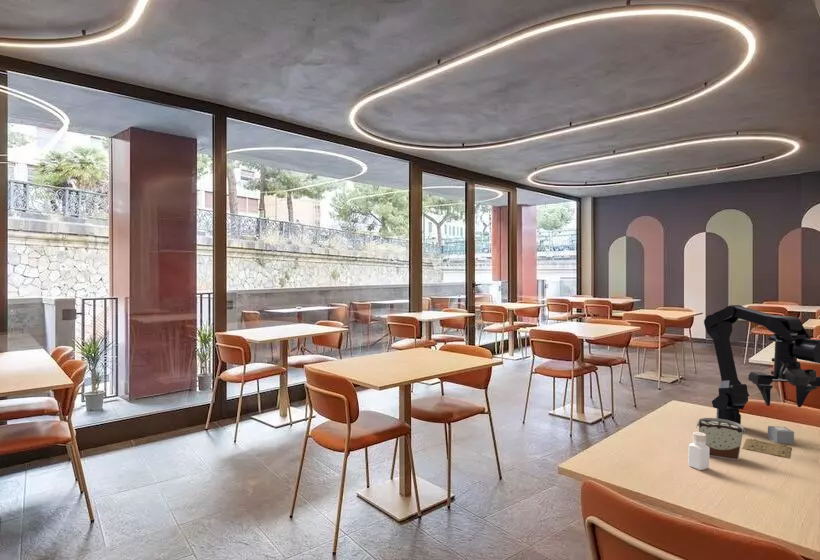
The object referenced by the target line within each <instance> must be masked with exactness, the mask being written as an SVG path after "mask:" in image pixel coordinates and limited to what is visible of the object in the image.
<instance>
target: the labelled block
mask: <svg viewBox="0 0 820 560" xmlns="http://www.w3.org/2000/svg"><path fill="white" fill-rule="evenodd" d="M769 438H770V440H771V441H772V440H773V441H772V442H773V443H775V444H786V443H791V444H792V445H794V443H795V442H794V439H795V431H794V430H791V429H789V428H787V427H786V426H779V425H778V426H776V425H775V426H774V425H773V426H772V425H768V426H767V439H769ZM791 444H790V445H791Z"/></svg>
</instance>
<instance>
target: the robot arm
mask: <svg viewBox="0 0 820 560" xmlns="http://www.w3.org/2000/svg"><path fill="white" fill-rule="evenodd" d="M739 320H743V321H746V322H750V323H753V324H755V325H756V324H757V325H759V326H762V327H765V329H767V330H768V331H769V332H771V333H773V335H771V336H770V337H768V338H767V339H768V341H773V342H774V357H773V358H772V357H771V362H773V370H771V371H770V374H768V373H765V372H762V371H761V372H760V371H750V373H749V374H748V378H747V379H748V381H750V382H752V384H754V385H756V386H757V388H758V390H759V392H760V394H761V396H762V399H763V401H764V403H765V405H766V406H767V407H770V406H771V390H772V388H773V387H774V386H773V385H771V384H772V383H773V382H775V383H779V382H780V383H789V384H790V385H791V386H794V387H795V395H796V406H797V407H798V408H801V407H802V406H803V405H804V402H805V400H806V399H807V397H808V395H809V394H810V392H812V391H813V390H817V389H818V388H819V387H820V376H818V375H817V371H816V370H815V369H813V368H812V369H811V368H807V369H802V367H801V362H800V361H805V362H811V363H816V364H820V339H812V338H811V336H810V335H809V333H808V331H807V330H806V328H805V327H804V325H803V322H802V321H801V319H800V318H799V317H797V316H790V315H789V316H788V315H777V314H770V313H767V312H764V311H761V310H760V311H759V310H756V309H753V308H749V307H746V306H743V305H741V304H730V305H727V306H726V307H725V308H722V309H720V310H718V311H716V312H713V313H712V314H709V315H706V317H705V319H704V320H703V325H704V328H705V330H706V333H707V335H708V336H709V337H710V338H711V339H712V341H713V344H714V349H715V355H716V360H717V364H718V369H719V374H720V380H721V381H720V384H719V386H718V395H717V396H716V397H714V399H713V400H711V405H712V407H713V408H714V409H716V418H718V419H724V420H729V421H733V422H736V423H738V424H741V425H742V423H741V422H742V421H741V420H742V415H741V414H740V410H744V408H745V406H746V404H747V403H748V402H749V397H750V394H749V391H748V385H747V384H746V383H743V384H742V382H741V380H739V378H738V372H737V369H736V368H737V367H736V364H735V363H736V362H735V359H734V355H733V350H732V343H731V340H730V337H731V336H732V333H733V325H734V324H736V323H737V322H738V321H739ZM798 360H800V361H798Z"/></svg>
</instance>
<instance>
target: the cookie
mask: <svg viewBox="0 0 820 560" xmlns="http://www.w3.org/2000/svg"><path fill="white" fill-rule="evenodd" d="M741 449H742V450H746V451H750V452H756V453H760V454H765V455H770V456H775V457H780V458H784V459H788V460H789V459H791V454H792V449H793V448H792V446H788V445H787V444H783V443H775V442H767V441H763V440H760V439H759V440H758V439H756V438H755V439H754V438H746V439H745V441H744V444H743V446H742V448H741Z"/></svg>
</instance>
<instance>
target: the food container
mask: <svg viewBox="0 0 820 560" xmlns="http://www.w3.org/2000/svg"><path fill="white" fill-rule="evenodd" d="M695 428H698V432H701V433H704V434H706V445H707V446H708V447H709V448H710V451H709V457H712V458H713V457H715V458H721V459H727V460H734V461H739V460H740V459H739V457H740V452H741V445H742V440H743V434H746V430H745V427H744V426H743V425H742V423H741V424H738V423H736V422H733V421H729V420H724V419H718V418H717V417H703V418H699V419H698V421H697V423H696V426H695Z"/></svg>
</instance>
